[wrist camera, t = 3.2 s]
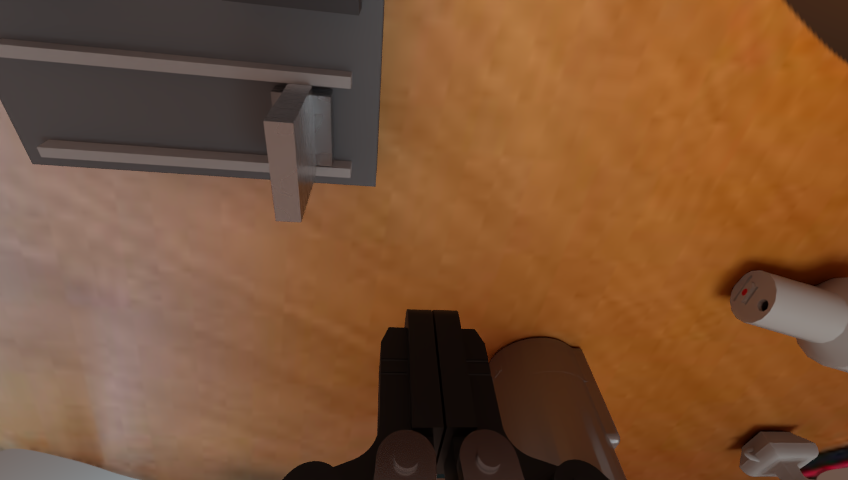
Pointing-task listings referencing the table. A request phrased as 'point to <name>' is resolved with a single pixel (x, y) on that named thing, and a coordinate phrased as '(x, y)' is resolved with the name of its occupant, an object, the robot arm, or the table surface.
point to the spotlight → (798, 313)
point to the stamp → (777, 455)
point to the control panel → (187, 81)
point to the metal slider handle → (297, 145)
